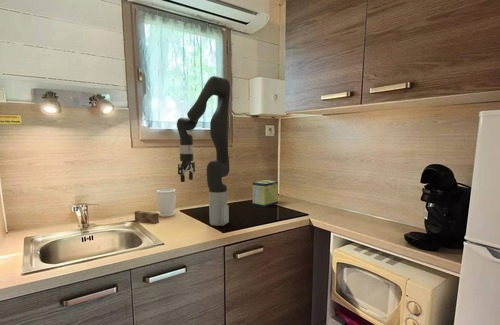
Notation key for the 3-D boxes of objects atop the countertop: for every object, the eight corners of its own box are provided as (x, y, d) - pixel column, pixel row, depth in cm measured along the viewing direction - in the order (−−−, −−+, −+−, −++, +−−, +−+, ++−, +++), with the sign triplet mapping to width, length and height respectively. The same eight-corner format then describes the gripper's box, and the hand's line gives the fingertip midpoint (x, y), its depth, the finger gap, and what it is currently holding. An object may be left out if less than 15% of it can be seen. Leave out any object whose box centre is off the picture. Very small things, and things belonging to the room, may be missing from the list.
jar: (178, 213, 164) (178, 188, 163) (172, 217, 154) (171, 191, 153) (161, 212, 165) (161, 188, 164) (154, 217, 155) (153, 191, 154)
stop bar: (158, 222, 145) (158, 213, 145) (155, 223, 143) (155, 214, 143) (138, 219, 150) (137, 210, 150) (134, 220, 148) (134, 211, 148)
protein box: (278, 203, 188) (278, 181, 187) (264, 207, 177) (264, 183, 176) (266, 201, 195) (266, 179, 194) (252, 205, 184) (252, 182, 182)
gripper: (185, 153, 148) (185, 183, 150) (198, 152, 162) (198, 179, 163) (173, 153, 151) (174, 182, 152) (187, 152, 164) (188, 178, 166)
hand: (186, 180), depth 158 cm, fingers open, 8 cm apart
